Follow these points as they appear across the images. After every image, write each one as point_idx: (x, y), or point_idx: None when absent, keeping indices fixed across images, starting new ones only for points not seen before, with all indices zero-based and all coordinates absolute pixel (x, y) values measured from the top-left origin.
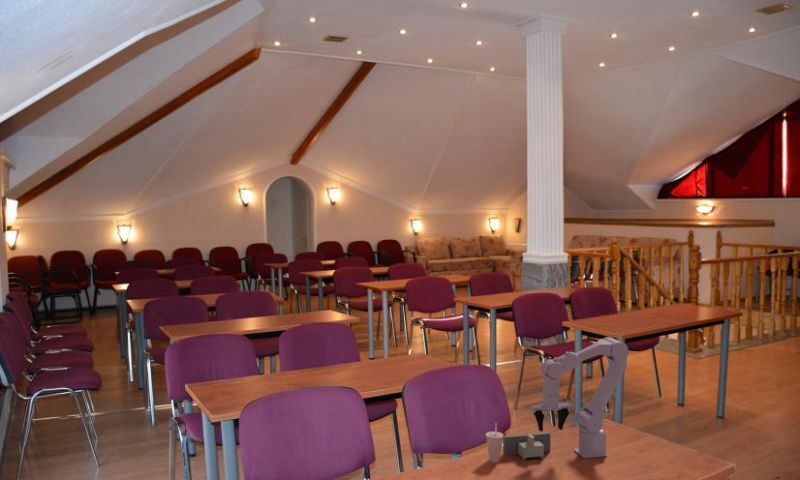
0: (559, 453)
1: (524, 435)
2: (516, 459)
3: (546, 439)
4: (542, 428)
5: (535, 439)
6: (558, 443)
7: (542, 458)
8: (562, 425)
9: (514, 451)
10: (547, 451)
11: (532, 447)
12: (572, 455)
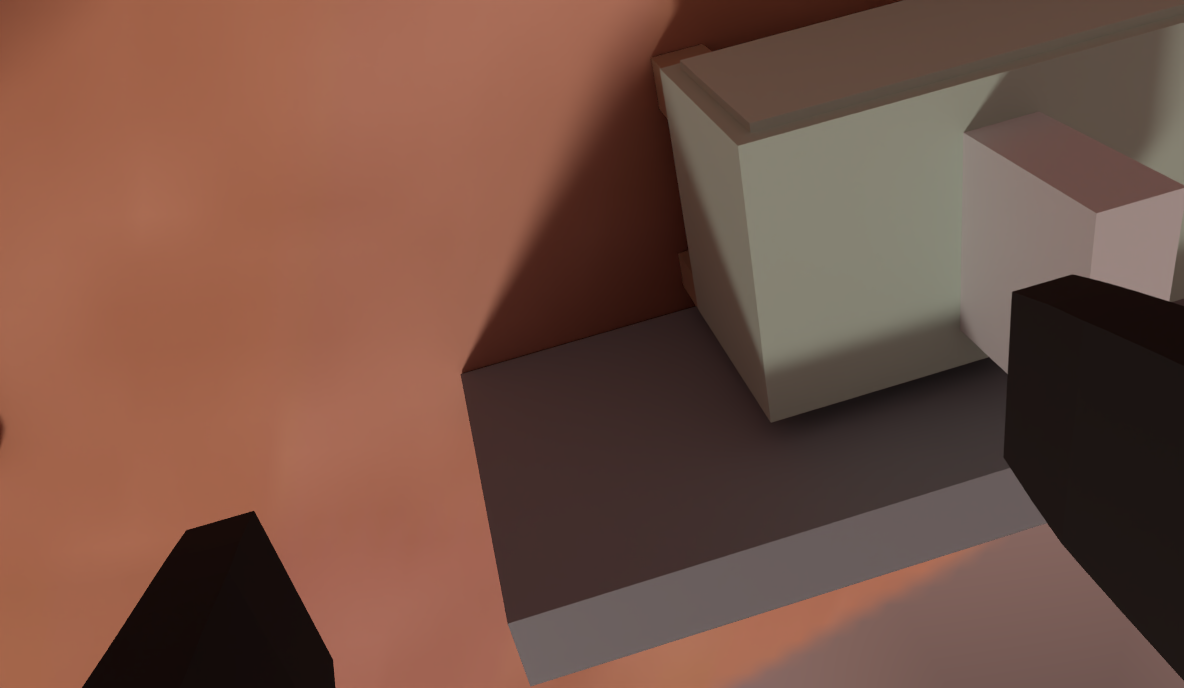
0: (296, 319)
1: None
2: None
3: (576, 501)
4: (1128, 322)
5: (827, 441)
6: None
7: (670, 55)
8: (134, 661)
9: None
10: (511, 364)
11: (1019, 54)
12: (26, 249)
